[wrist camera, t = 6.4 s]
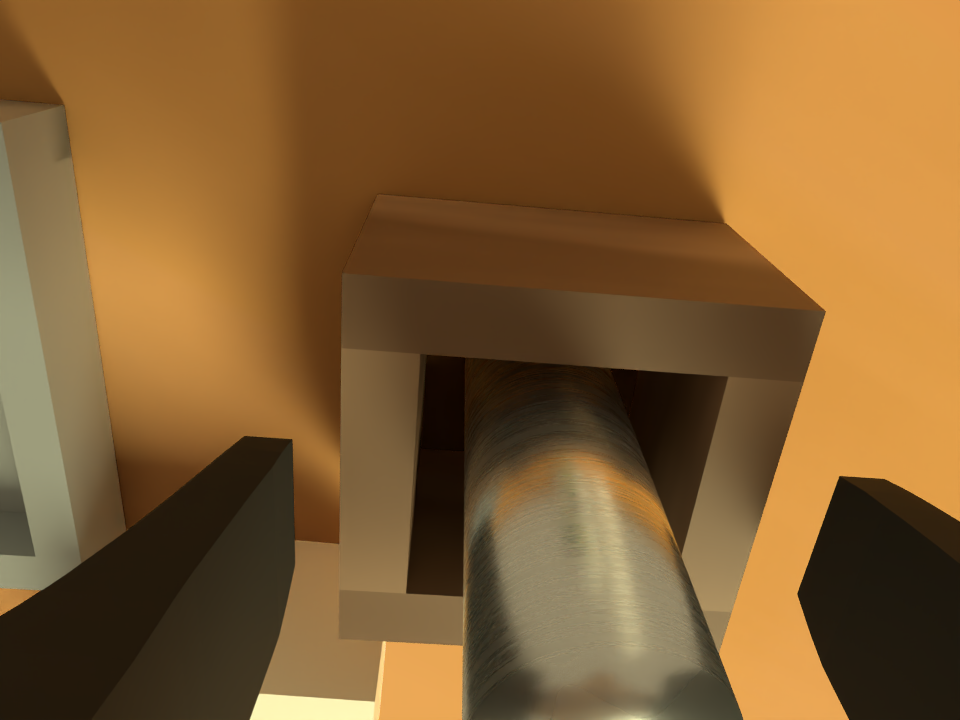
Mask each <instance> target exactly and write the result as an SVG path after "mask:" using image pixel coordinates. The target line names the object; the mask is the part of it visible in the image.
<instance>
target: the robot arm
mask: <svg viewBox="0 0 960 720" xmlns="http://www.w3.org/2000/svg"><path fill="white" fill-rule="evenodd" d="M294 568H295V529H294V486H293V443H292V439H279V438H264V437H250V436H244V437H243V438H241V439H240V440H239V441H238V442H236V443H235V444H234V445H233V446H231V447H230V448H229V449H228V450H226V451H225V452H224V453H223V454H221V455H220V456H219V457H218V458H217V459H215V460H214V461H213V462H212V463H211V464H209V465H208V466H207V467H206V468H204V469H203V470H202V471H201V472H200V473H198V474H197V475H196V476H195V477H194V478H192V479H191V480H190V481H189V482H188V483H186V484H185V485H184V486H183V487H181V488H180V489H179V490H178V491H177V492H175V493H174V494H173V495H172V496H170V497H169V498H168V499H167V500H165V501H164V502H163V503H162V504H160V505H159V506H158V507H157V508H155V509H154V510H153V511H151V512H150V513H149V514H148V515H146V516H145V517H144V518H143V519H141V520H140V521H139V522H137V523H136V524H135V525H134V526H132V527H131V528H130V529H128V530H127V531H126V532H124V533H123V534H121V535H120V536H119V537H117V538H116V539H115V540H113V541H112V542H110V543H109V544H108V545H106V546H105V547H103V548H102V549H101V550H99V551H98V552H96V553H95V554H94V555H92V556H91V557H89V558H88V559H87V560H85V561H84V562H82V563H81V564H80V565H78V566H77V567H75V568H74V569H73V570H71V571H70V572H68V573H67V574H66V575H64V576H63V577H61V578H60V579H58V580H57V581H55V582H54V583H52V584H51V585H49V586H48V587H46V588H45V589H43V590H42V591H40V592H38V593H37V594H35V595H34V596H32V597H31V598H29V599H27V600H26V601H24V602H23V603H21V604H20V605H18V606H16V607H15V608H13V609H11V610H10V611H8V612H6V613H5V614H3V615H1V616H0V720H250V718H251V715H252V712H253V709H254V707H255V704H256V701H257V698H258V695H259V693H260V690H261V687H262V684H263V681H264V678H265V676H266V673H267V670H268V667H269V664H270V661H271V659H272V656H273V653H274V650H275V647H276V644H277V641H278V638H279V635H280V631H281V626H282V622H283V618H284V614H285V609H286V605H287V601H288V596H289V591H290V587H291V582H292V578H293V573H294ZM797 594H798V598H799V601H800V604H801V607H802V610H803V613H804V616H805V619H806V622H807V625H808V628H809V631H810V634H811V637H812V639H813V642H814V645H815V647H816V650H817V653H818V655H819V658H820V661H821V664H822V666H823V668H824V670H825V672H826V674H827V676H828V678H829V680H830V682H831V685H832V686H833V688H834V690H835V692H836V694H837V696H838V698H839V700H840V702H841V704H842V706H843V708H844V710H845V712H846V714H847V716H848V718H849V720H960V522H959V521H958V520H956V519H955V518H953V517H951V516H950V515H948V514H946V513H945V512H943V511H941V510H940V509H938V508H936V507H935V506H933V505H931V504H930V503H928V502H926V501H925V500H923V499H921V498H919V497H918V496H916V495H914V494H912V493H910V492H909V491H907V490H905V489H903V488H901V487H899V486H897V485H895V484H893V483H891V482H889V481H887V480H885V479H875V478H860V477H845V476H839V479H838V482H837V485H836V487H835V490H834V493H833V496H832V499H831V501H830V504H829V507H828V510H827V513H826V515H825V518H824V521H823V524H822V527H821V529H820V532H819V535H818V538H817V540H816V543H815V546H814V549H813V552H812V554H811V557H810V560H809V563H808V566H807V568H806V571H805V574H804V577H803V580H802V582H801V585H800V588H799V591H798V593H797Z"/></svg>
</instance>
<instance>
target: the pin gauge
mask: <svg viewBox="0 0 960 720" xmlns="http://www.w3.org/2000/svg"><path fill="white" fill-rule="evenodd" d="M462 720H743V717H742V714H741V711H740V709H739V706H738V703H737V701H736V698H735V695H734V693H733V690H732V688H731V685H730V682H729V680H728V677H727V674H726V672H725V669H724V667H723V664H722V661H721V659H720V656H719V653H718V651H717V648H716V645H715V643H714V640H713V638H712V635H711V632H710V630H709V627H708V624H707V622H706V619H705V617H704V614H703V611H702V609H701V606H700V603H699V601H698V598H697V596H696V593H695V590H694V588H693V585H692V582H691V580H690V577H689V574H688V572H687V569H686V567H685V564H684V561H683V559H682V556H681V553H680V551H679V548H678V546H677V543H676V540H675V538H674V535H673V532H672V530H671V527H670V525H669V522H668V519H667V517H666V514H665V511H664V509H663V506H662V504H661V501H660V498H659V496H658V493H657V490H656V488H655V485H654V482H653V480H652V477H651V475H650V472H649V469H648V467H647V464H646V461H645V459H644V456H643V454H642V451H641V448H640V446H639V443H638V440H637V438H636V435H635V433H634V430H633V427H632V425H631V422H630V419H629V417H628V414H627V411H626V409H625V406H624V404H623V401H622V398H621V396H620V393H619V390H618V388H617V385H616V383H615V380H614V377H613V375H612V372H611V369H610V368H603V367H590V366H576V365H563V364H549V363H536V362H522V361H509V360H495V359H481V358H468V357H466V360H465V441H464V568H463V694H462Z"/></svg>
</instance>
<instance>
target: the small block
mask: <svg viewBox="0 0 960 720" xmlns="http://www.w3.org/2000/svg"><path fill="white" fill-rule="evenodd" d="M385 649H386V641H368V640H350V639H339V544H335V543H323V542H312V541H300V540H295V568H294V573H293V578H292V582H291V587H290V591H289V596H288V601H287V605H286V609H285V614H284V618H283V622H282V626H281V631H280V635H279V638H278V641H277V644H276V647H275V650H274V653H273V656H272V659H271V661H270V664H269V667H268V670H267V673H266V676H265V678H264V681H263V684H262V687H261V690H260V693H259V695H258V698H257V701H256V704H255V707H254V709H253V712H252V715H251V718H250V720H379V713H380V703H381V692H382V681H383V671H384V660H385Z"/></svg>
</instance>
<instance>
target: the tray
mask: <svg viewBox="0 0 960 720" xmlns="http://www.w3.org/2000/svg"><path fill="white" fill-rule="evenodd" d="M124 532H126V526H125V519H124V512H123V505H122V498H121V491H120V484H119V477H118V471H117V464H116V457H115V450H114V443H113V436H112V429H111V423H110V416H109V409H108V402H107V395H106V388H105V381H104V375H103V368H102V361H101V354H100V347H99V340H98V333H97V326H96V320H95V313H94V306H93V299H92V292H91V285H90V278H89V272H88V265H87V258H86V251H85V244H84V237H83V230H82V224H81V217H80V210H79V203H78V196H77V189H76V182H75V175H74V169H73V162H72V155H71V148H70V141H69V134H68V127H67V121H66V114H65V107H64V105H58V104H47V103H35V102H24V101H13V100H2V99H0V588H9V589H27V590H43V589H45V588H46V587H48V586H49V585H51V584H52V583H54V582H55V581H57V580H58V579H60V578H61V577H63V576H64V575H66V574H67V573H68V572H70V571H71V570H73V569H74V568H75V567H77V566H78V565H80V564H81V563H82V562H84V561H85V560H87V559H88V558H89V557H91V556H92V555H94V554H95V553H96V552H98V551H99V550H101V549H102V548H103V547H105V546H106V545H108V544H109V543H110V542H112V541H113V540H115V539H116V538H117V537H119V536H120V535H121V534H123V533H124Z"/></svg>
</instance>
